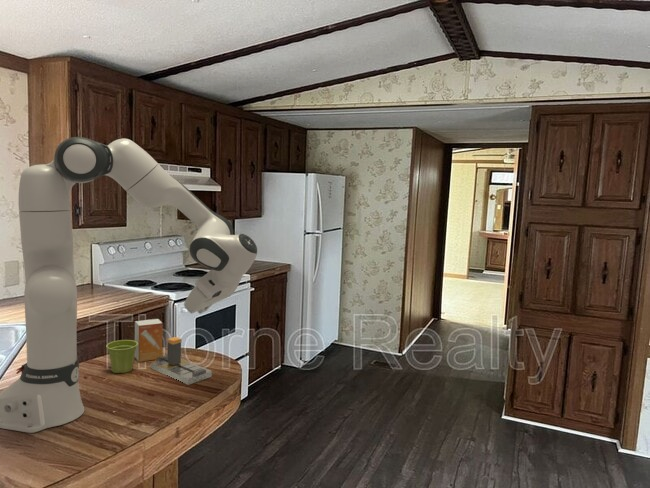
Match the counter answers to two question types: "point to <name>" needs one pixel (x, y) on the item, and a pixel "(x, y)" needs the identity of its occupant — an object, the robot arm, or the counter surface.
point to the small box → (148, 339)
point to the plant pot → (122, 355)
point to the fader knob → (174, 350)
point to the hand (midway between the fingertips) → (201, 310)
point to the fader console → (181, 370)
